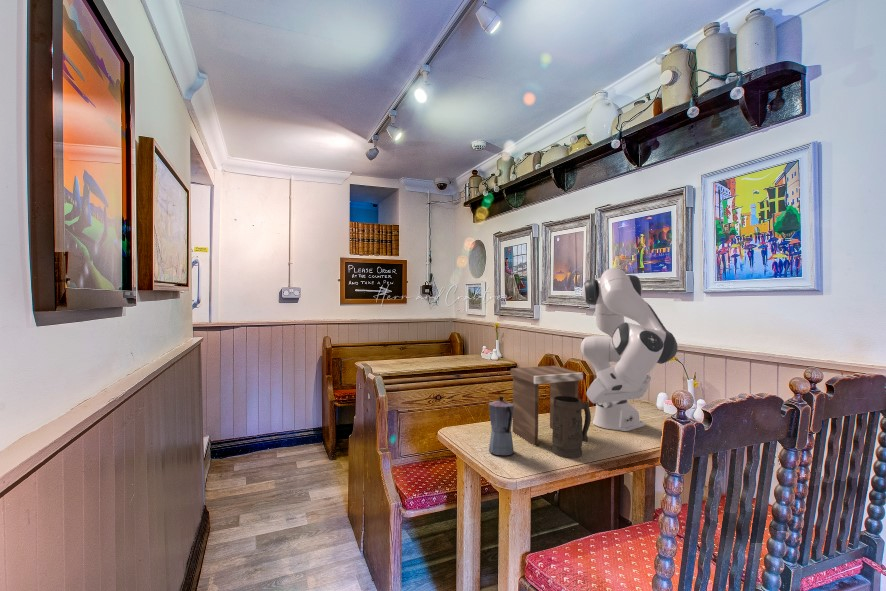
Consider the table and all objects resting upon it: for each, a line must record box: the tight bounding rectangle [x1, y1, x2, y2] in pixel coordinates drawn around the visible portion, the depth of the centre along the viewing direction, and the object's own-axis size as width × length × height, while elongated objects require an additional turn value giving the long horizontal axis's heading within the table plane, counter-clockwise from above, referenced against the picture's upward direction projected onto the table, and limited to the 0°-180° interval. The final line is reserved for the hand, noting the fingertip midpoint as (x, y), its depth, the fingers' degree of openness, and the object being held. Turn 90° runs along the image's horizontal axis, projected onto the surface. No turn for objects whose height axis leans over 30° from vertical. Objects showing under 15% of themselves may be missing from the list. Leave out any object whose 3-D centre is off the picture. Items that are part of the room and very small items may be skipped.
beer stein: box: [551, 396, 592, 459], centre depth 152 cm, size 15×11×20 cm
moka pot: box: [488, 396, 515, 456], centre depth 150 cm, size 10×15×20 cm, turn 19°
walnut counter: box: [510, 365, 584, 446], centre depth 168 cm, size 22×18×27 cm
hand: (607, 406), depth 135 cm, fingers closed
